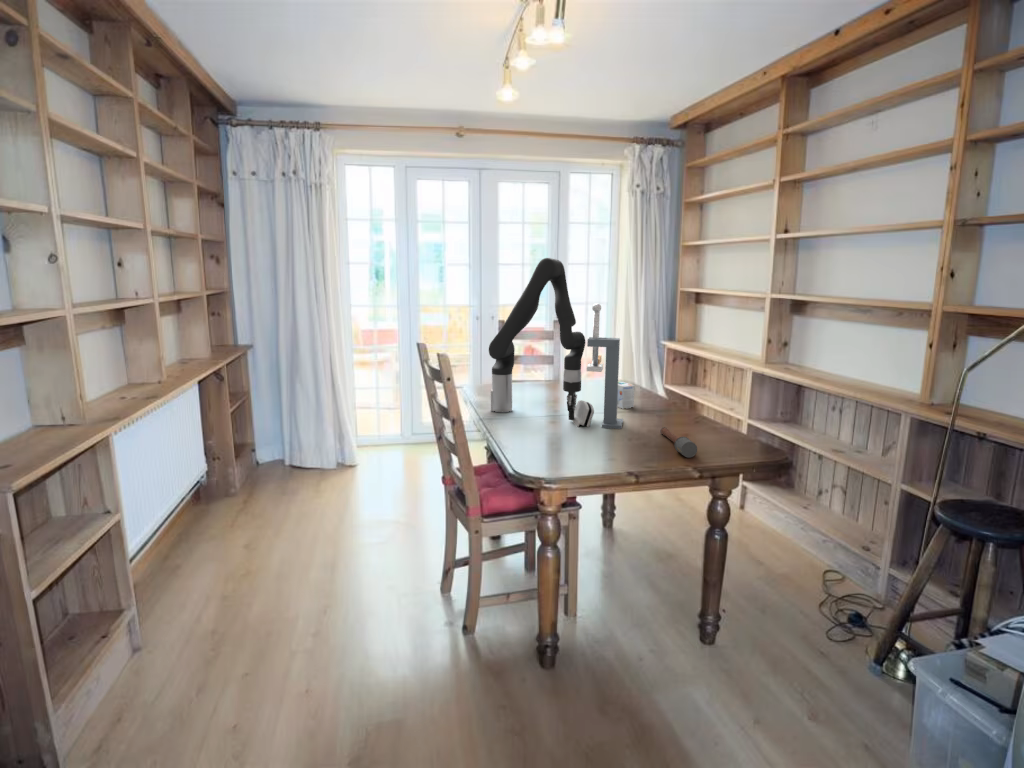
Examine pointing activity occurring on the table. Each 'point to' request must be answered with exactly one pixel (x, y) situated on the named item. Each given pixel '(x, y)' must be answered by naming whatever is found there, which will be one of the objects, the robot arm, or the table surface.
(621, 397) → the light bulb box
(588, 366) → the ram
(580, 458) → the table surface
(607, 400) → the press frame
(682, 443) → the mallet
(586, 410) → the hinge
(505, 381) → the robot arm
